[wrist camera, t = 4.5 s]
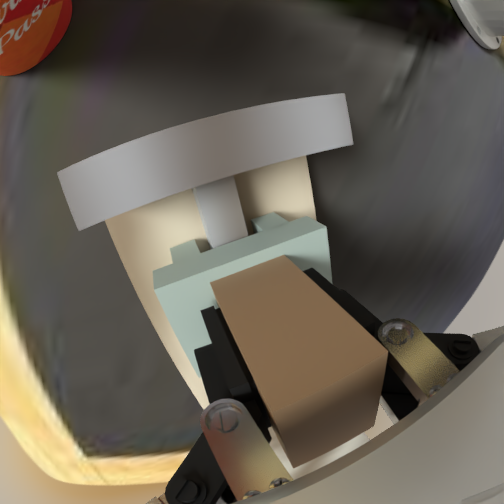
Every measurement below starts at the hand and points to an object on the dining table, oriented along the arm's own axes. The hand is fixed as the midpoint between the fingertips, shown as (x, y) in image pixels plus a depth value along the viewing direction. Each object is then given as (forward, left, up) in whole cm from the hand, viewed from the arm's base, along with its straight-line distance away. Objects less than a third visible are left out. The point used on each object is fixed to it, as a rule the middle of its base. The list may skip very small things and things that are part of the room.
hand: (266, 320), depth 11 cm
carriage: (0, 0, -4) cm, 4 cm away
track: (0, +7, -6) cm, 9 cm away
